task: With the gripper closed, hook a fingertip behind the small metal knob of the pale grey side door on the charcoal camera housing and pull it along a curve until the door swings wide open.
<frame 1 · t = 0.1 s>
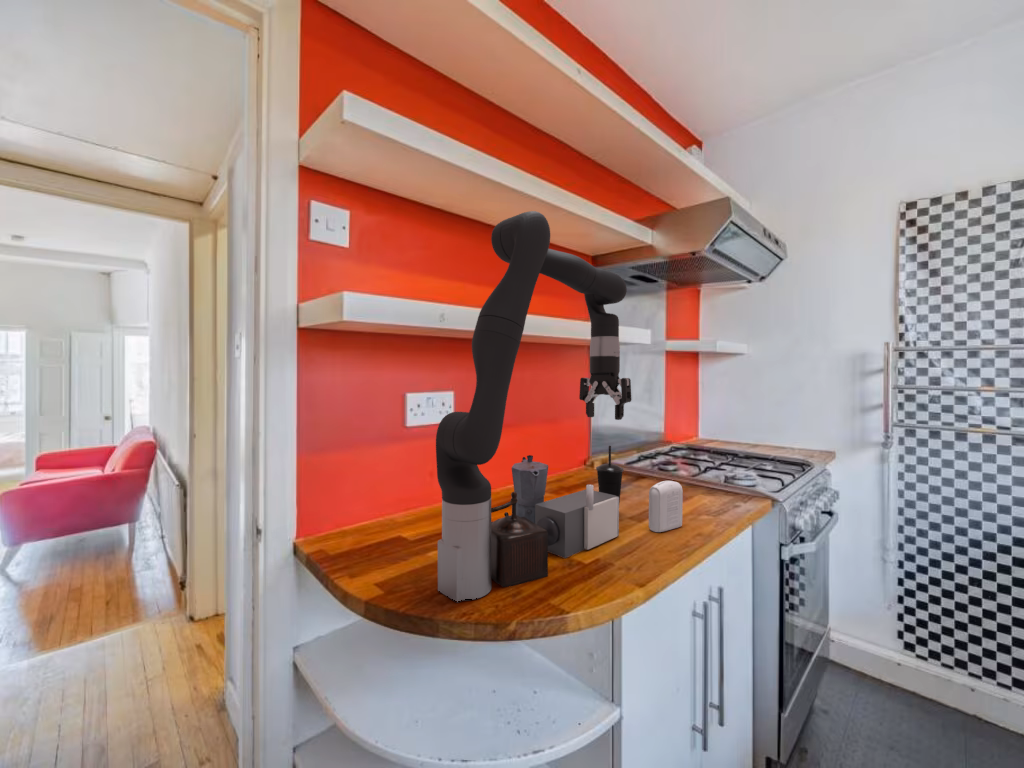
hand: (604, 418, 113), 29 cm above the table, fingers open, 8 cm apart
camera housing: (578, 541, 107), on the table
side door: (603, 511, 105), point 8 cm above the table, hinge at 0.0°
moka pot: (528, 532, 113), on the table
coffee grinder: (502, 575, 89), on the table
drinking cup: (609, 516, 126), on the table
photo printer: (665, 528, 116), on the table
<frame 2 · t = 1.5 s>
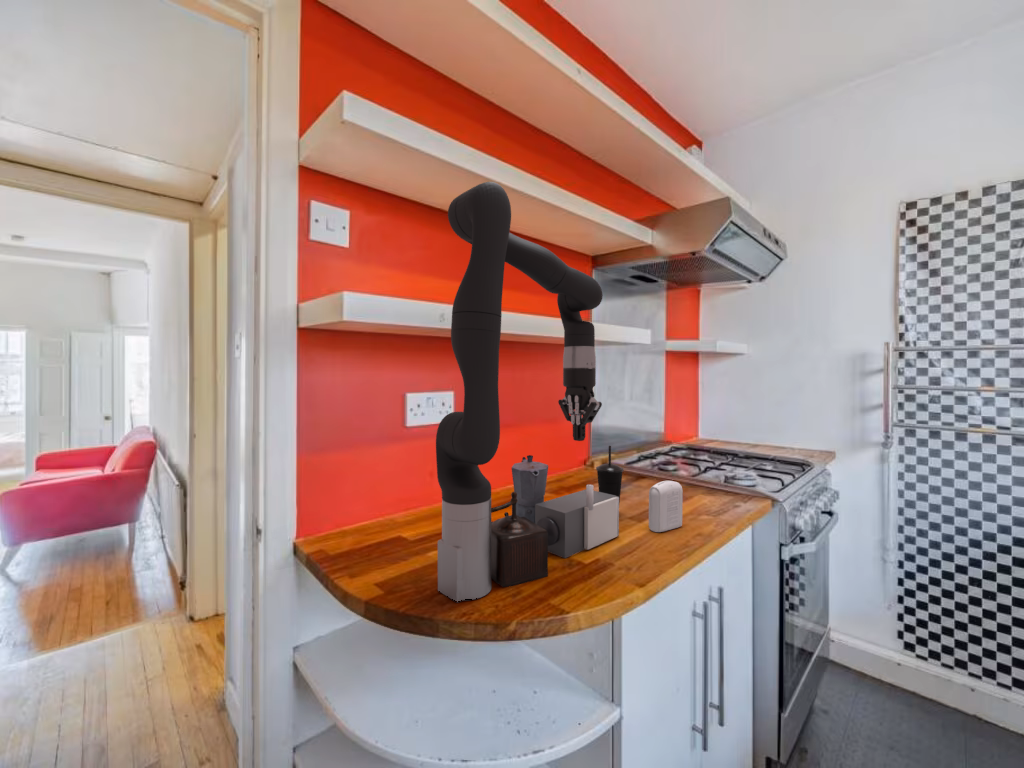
hand: (579, 440, 104), 25 cm above the table, fingers closed
nothing on the table moved.
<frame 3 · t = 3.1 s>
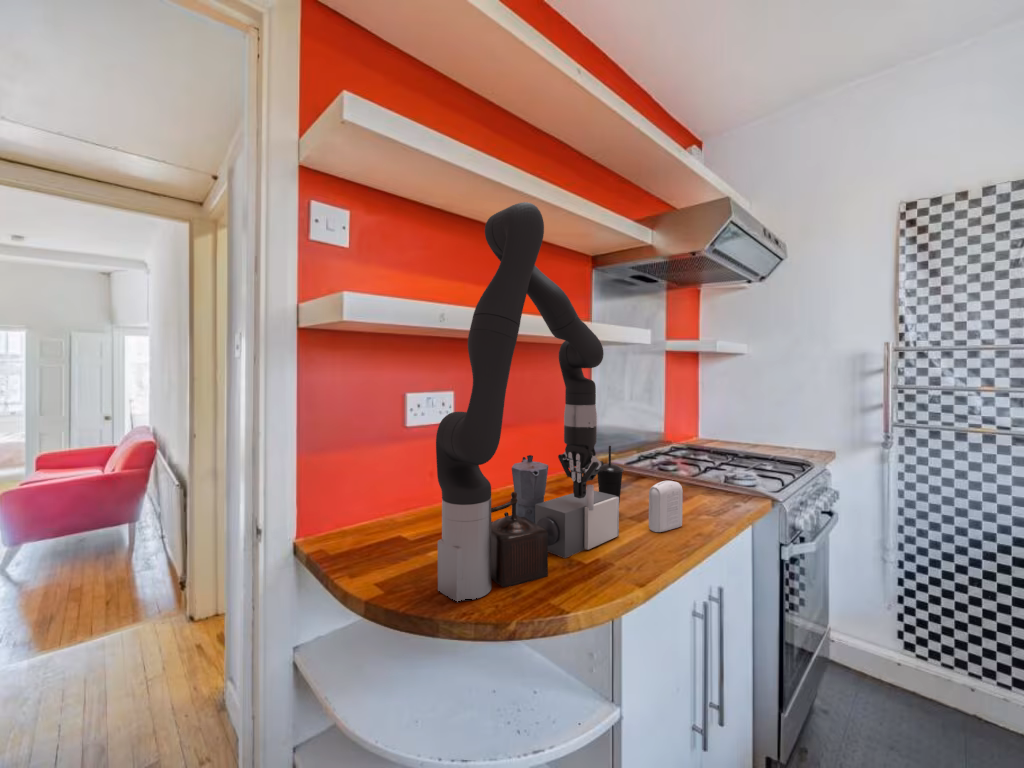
hand: (579, 497, 104), 12 cm above the table, fingers closed
side door: (603, 511, 105), point 8 cm above the table, hinge at 0.3°, touching gripper
everything else where it was.
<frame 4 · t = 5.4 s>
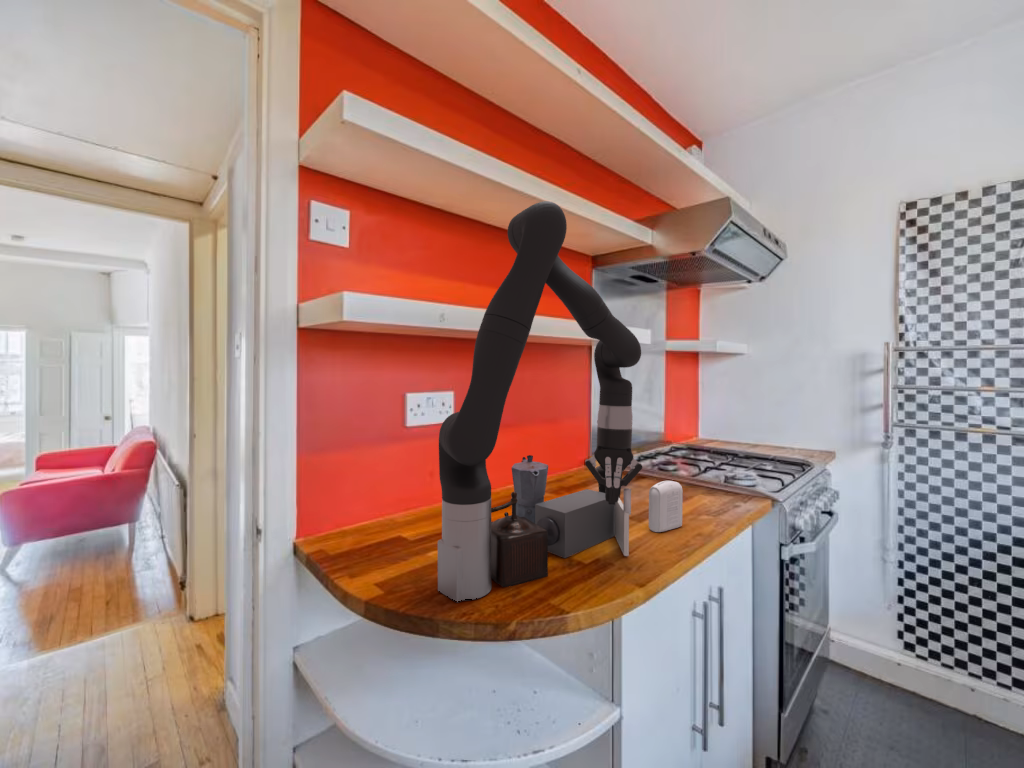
hand: (611, 503, 98), 12 cm above the table, fingers closed
side door: (622, 513, 103), point 8 cm above the table, hinge at 42.7°, touching gripper
everything else where it was.
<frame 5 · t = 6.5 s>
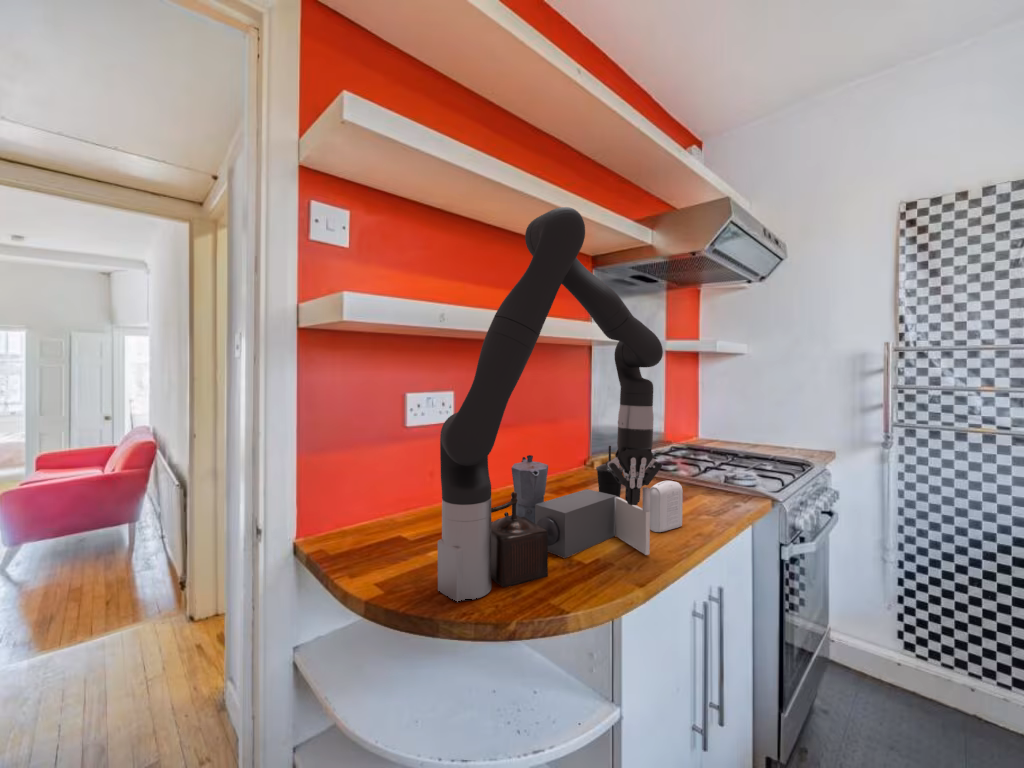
hand: (632, 504, 98), 12 cm above the table, fingers closed
side door: (631, 513, 104), point 8 cm above the table, hinge at 65.2°, touching gripper
everything else where it was.
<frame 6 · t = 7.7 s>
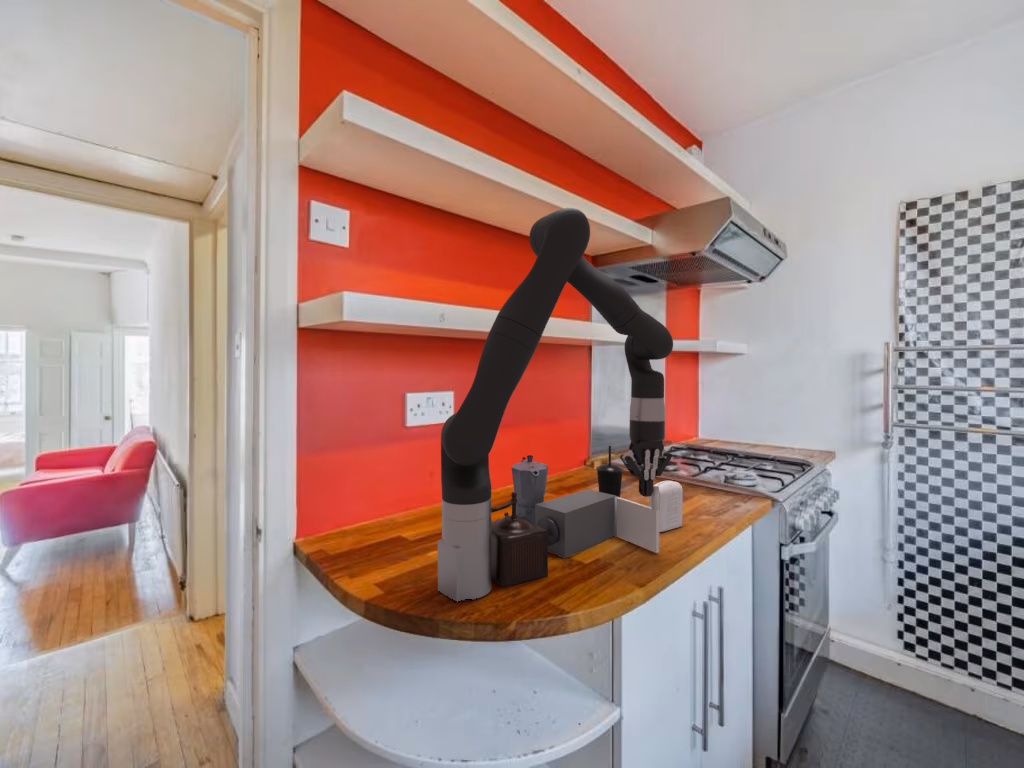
hand: (645, 495, 98), 13 cm above the table, fingers closed
side door: (636, 512, 104), point 8 cm above the table, hinge at 78.5°
everything else where it was.
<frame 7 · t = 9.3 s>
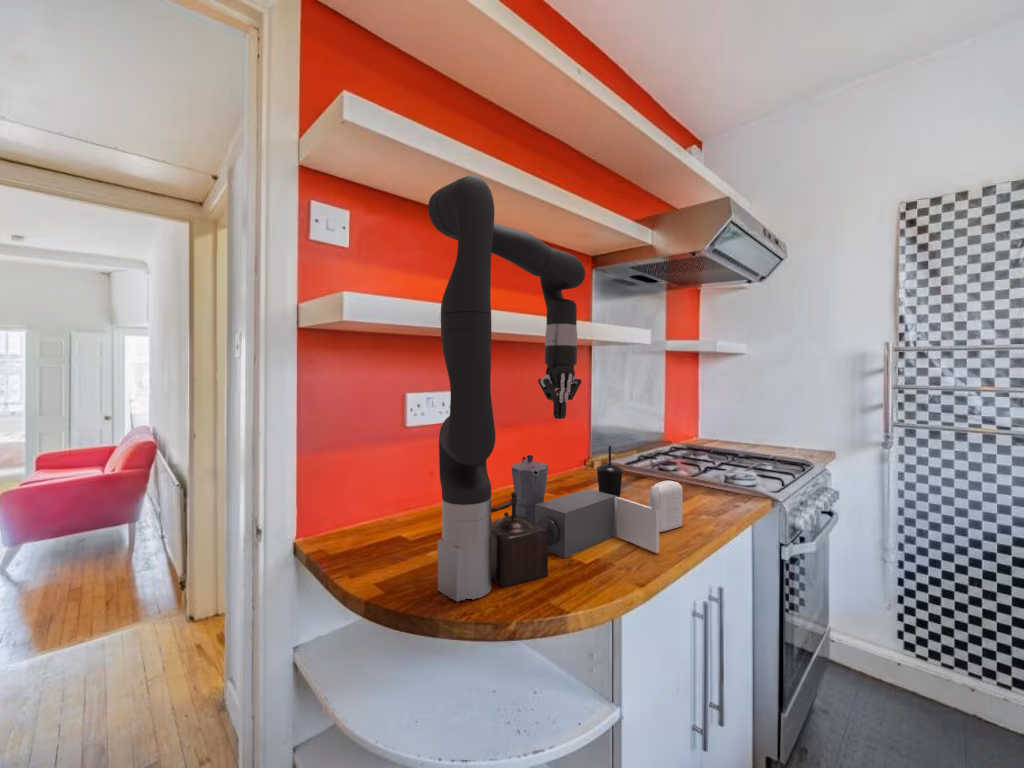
hand: (559, 418, 104), 30 cm above the table, fingers closed
nothing on the table moved.
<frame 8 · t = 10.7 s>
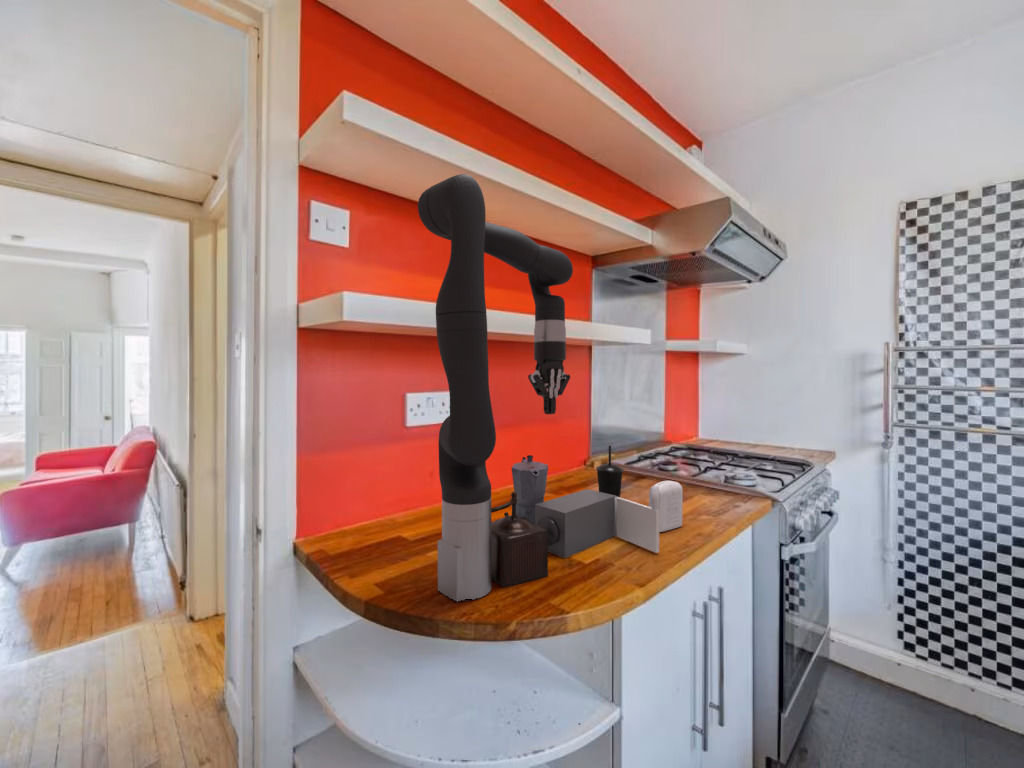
hand: (549, 413, 105), 31 cm above the table, fingers closed
nothing on the table moved.
at the end: side door at +78° (first picture: +0°) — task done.
